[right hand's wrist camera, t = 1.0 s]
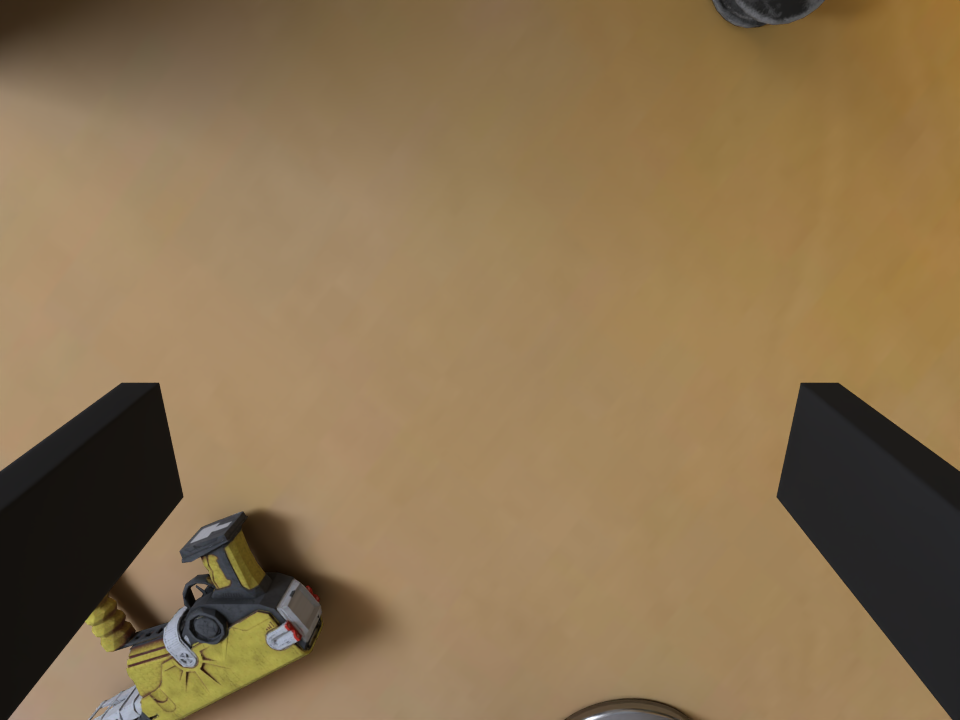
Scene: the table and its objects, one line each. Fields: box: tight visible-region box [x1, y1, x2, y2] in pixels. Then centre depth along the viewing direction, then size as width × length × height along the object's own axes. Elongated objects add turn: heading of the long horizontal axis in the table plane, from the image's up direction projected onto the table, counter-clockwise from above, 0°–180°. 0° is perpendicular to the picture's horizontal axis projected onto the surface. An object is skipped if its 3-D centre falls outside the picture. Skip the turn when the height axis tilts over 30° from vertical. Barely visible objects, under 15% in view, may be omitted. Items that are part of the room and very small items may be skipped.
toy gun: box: [85, 512, 323, 720], centre depth 48 cm, size 5×24×15 cm
